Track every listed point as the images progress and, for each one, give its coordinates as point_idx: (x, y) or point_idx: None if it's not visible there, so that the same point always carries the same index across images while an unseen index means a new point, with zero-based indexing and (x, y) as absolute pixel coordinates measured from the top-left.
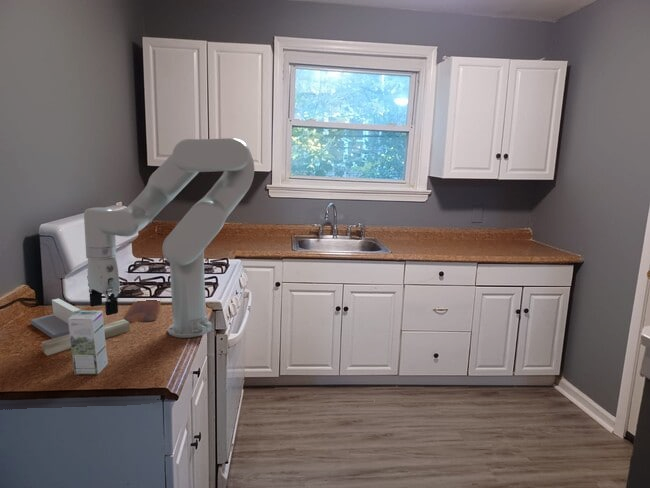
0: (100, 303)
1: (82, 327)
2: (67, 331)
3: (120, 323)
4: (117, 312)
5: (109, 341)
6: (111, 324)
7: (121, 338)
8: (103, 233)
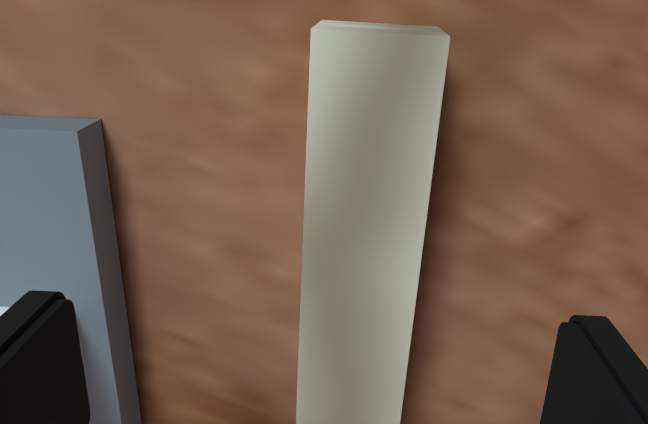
0: (63, 323)
1: None
2: (123, 417)
3: (409, 131)
4: (604, 322)
5: (504, 269)
6: (355, 206)
7: (537, 177)
8: None
